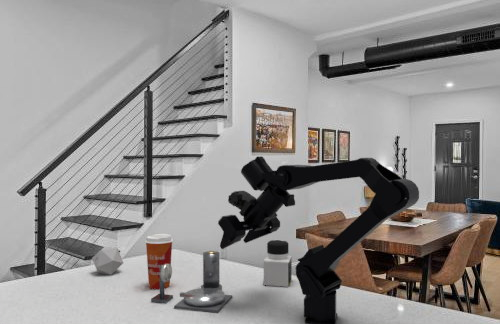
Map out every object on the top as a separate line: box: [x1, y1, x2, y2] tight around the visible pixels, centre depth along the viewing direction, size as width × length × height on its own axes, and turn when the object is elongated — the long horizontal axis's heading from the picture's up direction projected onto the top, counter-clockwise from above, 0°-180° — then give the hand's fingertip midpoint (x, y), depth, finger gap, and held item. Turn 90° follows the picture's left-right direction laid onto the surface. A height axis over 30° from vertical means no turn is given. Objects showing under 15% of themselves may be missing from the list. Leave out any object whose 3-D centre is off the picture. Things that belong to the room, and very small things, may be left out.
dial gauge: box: [150, 264, 174, 304], centre depth 107 cm, size 4×4×9 cm
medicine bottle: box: [263, 239, 293, 288], centre depth 121 cm, size 7×7×12 cm
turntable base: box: [173, 294, 234, 314], centre depth 105 cm, size 11×11×1 cm
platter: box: [179, 287, 226, 306], centre depth 105 cm, size 11×10×1 cm
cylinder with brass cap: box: [200, 250, 223, 291], centre depth 115 cm, size 6×6×10 cm
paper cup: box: [144, 233, 174, 290], centre depth 118 cm, size 8×8×14 cm
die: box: [91, 246, 124, 276], centre depth 132 cm, size 8×9×10 cm
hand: (233, 244), depth 110 cm, fingers open, 9 cm apart
